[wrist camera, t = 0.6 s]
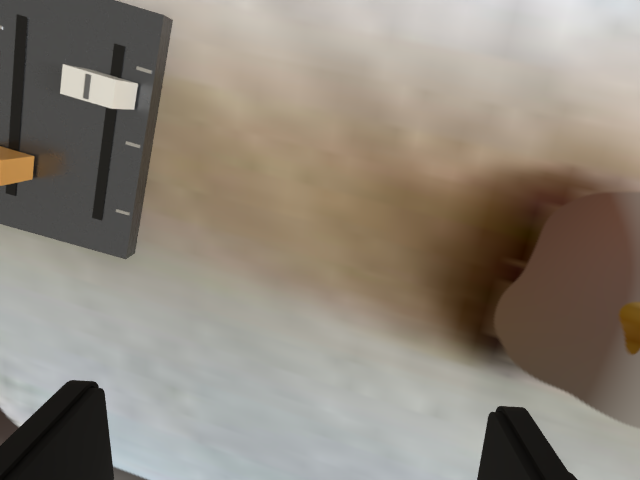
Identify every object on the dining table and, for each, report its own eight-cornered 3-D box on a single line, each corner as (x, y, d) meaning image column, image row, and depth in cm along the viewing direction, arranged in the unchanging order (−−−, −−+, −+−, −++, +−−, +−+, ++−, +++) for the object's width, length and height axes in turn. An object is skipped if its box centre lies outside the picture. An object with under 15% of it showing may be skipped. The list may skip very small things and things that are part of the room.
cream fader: (90, 69, 38) (61, 63, 34) (138, 83, 39) (115, 79, 35) (87, 95, 39) (59, 93, 35) (134, 109, 39) (111, 108, 35)
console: (4, -31, 38) (-15, -39, 36) (172, 20, 39) (163, 14, 37) (-9, 212, 45) (-25, 217, 43) (134, 253, 46) (125, 259, 44)
